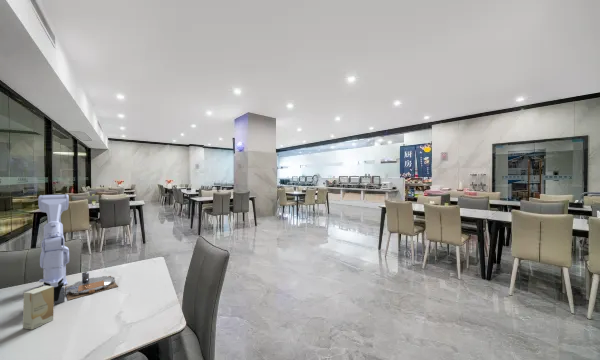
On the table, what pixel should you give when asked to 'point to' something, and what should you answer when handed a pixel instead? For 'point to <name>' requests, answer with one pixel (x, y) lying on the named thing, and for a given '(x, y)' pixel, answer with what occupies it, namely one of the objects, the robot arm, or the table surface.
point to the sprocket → (89, 284)
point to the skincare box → (38, 307)
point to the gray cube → (60, 297)
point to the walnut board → (72, 296)
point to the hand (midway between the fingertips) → (53, 299)
